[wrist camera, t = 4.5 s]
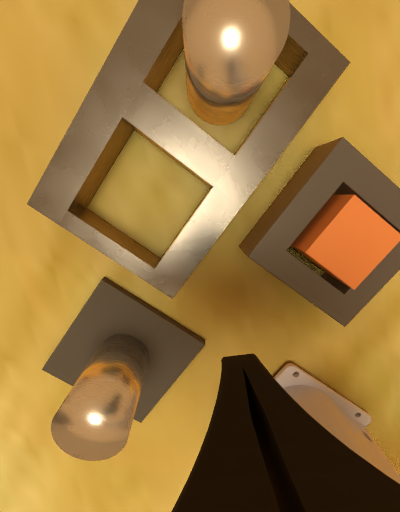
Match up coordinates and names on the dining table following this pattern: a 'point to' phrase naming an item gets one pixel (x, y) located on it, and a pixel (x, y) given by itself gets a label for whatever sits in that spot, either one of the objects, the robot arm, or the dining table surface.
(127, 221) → the dining table surface
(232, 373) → the robot arm
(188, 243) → the grey flat rectangular frame
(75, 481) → the dining table surface
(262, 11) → the light bulb
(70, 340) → the rubber mat
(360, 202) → the button
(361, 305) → the button housing
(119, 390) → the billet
